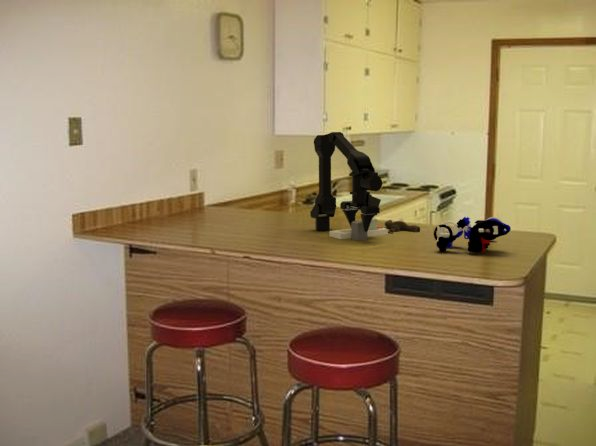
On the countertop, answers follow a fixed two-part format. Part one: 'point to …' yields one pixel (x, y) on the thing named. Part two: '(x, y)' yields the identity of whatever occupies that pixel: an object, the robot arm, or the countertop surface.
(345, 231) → the power strip
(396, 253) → the countertop surface
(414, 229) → the faucet
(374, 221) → the lamp plug
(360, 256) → the countertop surface
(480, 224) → the robot toy
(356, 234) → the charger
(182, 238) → the countertop surface
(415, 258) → the countertop surface
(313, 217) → the robot arm
